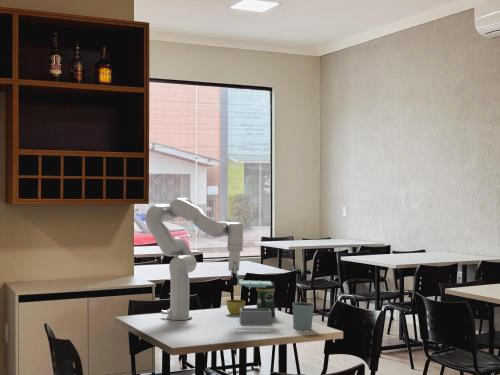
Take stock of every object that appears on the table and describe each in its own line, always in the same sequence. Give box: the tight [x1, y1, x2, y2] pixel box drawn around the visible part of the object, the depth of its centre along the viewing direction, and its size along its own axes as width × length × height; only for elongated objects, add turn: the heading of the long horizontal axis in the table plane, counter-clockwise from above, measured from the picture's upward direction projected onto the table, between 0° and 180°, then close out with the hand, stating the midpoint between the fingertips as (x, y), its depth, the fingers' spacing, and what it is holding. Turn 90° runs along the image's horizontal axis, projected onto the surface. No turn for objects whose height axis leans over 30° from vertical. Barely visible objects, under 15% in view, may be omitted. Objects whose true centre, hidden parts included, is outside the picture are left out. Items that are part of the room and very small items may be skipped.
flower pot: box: [225, 299, 246, 316], centre depth 366 cm, size 10×10×7 cm
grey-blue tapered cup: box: [292, 301, 315, 332], centre depth 330 cm, size 10×10×12 cm
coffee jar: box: [255, 280, 276, 318], centre depth 360 cm, size 10×8×19 cm
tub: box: [239, 307, 273, 325], centre depth 343 cm, size 15×10×6 cm, turn 94°
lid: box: [230, 273, 272, 288], centre depth 343 cm, size 20×11×5 cm, turn 94°
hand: (233, 284), depth 343 cm, fingers closed on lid, 2 cm apart
